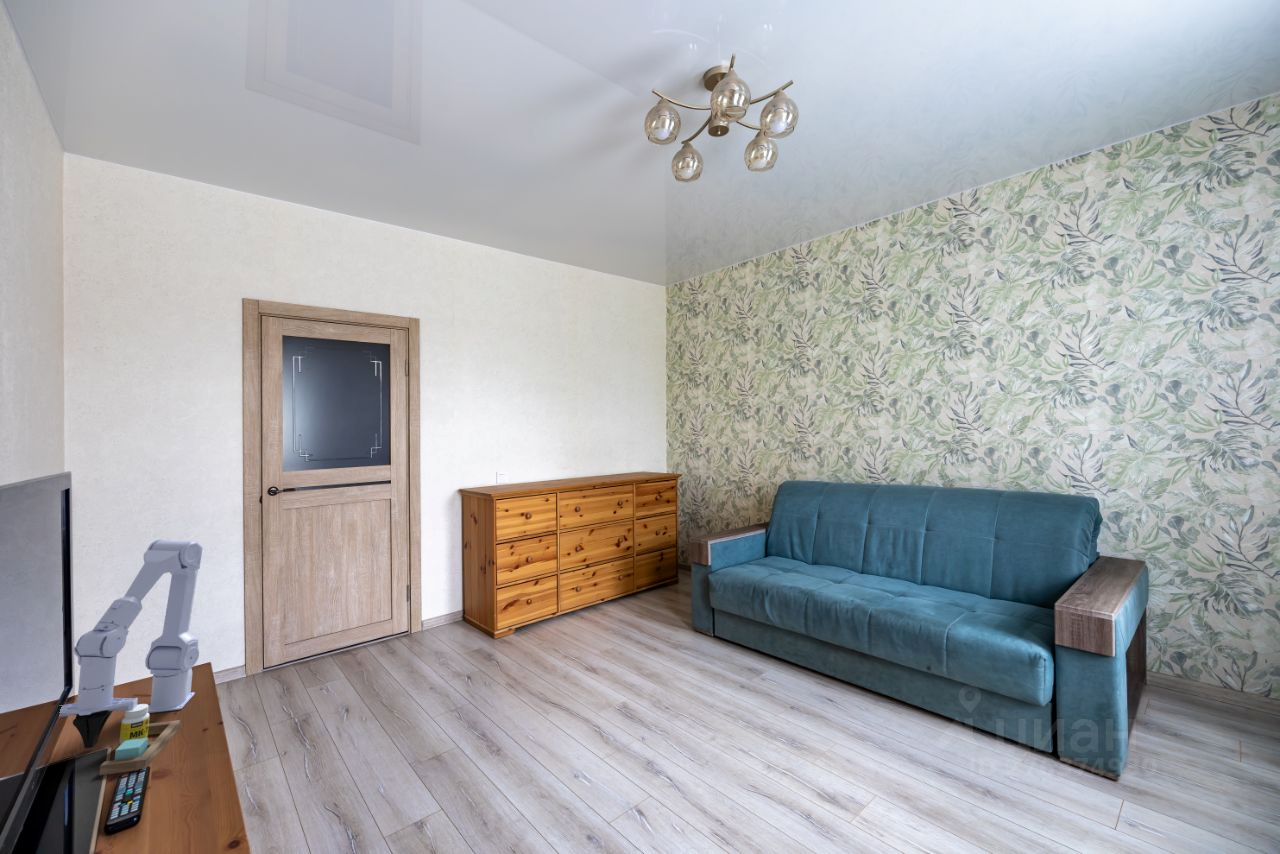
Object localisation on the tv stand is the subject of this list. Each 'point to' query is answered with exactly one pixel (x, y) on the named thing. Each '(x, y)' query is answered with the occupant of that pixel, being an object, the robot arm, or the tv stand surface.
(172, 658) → the robot arm
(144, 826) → the tv stand surface
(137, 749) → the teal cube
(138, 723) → the supplement bottle
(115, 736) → the tv stand surface
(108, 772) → the frame
